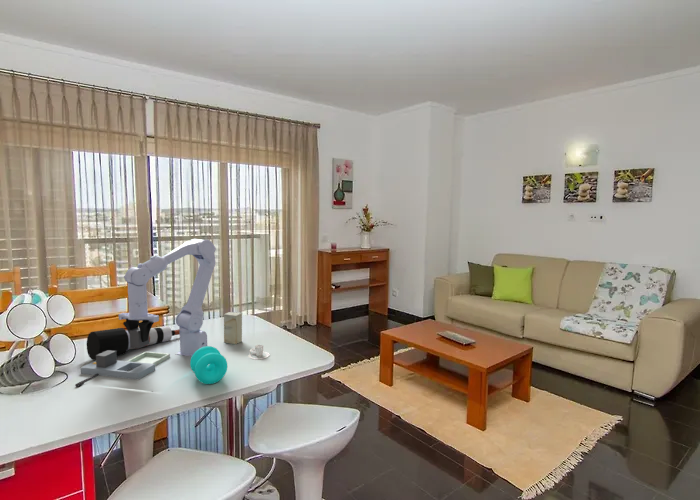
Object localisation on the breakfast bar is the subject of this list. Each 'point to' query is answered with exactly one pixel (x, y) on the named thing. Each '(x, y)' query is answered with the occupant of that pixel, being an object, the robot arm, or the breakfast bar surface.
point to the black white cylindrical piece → (123, 340)
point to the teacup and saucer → (257, 352)
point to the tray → (150, 358)
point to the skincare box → (232, 327)
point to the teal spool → (208, 365)
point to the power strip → (115, 367)
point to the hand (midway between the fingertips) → (139, 340)
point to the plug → (137, 339)
